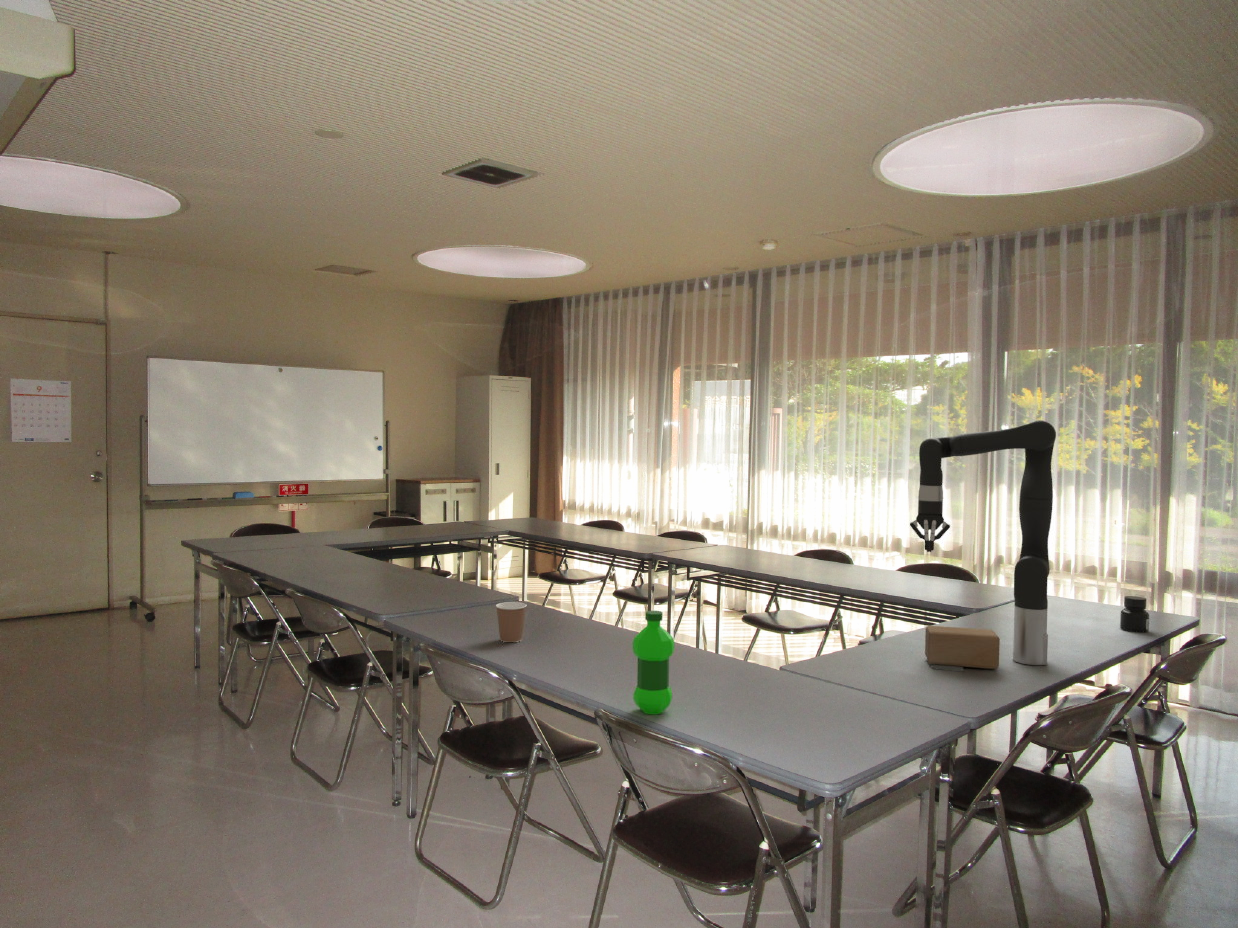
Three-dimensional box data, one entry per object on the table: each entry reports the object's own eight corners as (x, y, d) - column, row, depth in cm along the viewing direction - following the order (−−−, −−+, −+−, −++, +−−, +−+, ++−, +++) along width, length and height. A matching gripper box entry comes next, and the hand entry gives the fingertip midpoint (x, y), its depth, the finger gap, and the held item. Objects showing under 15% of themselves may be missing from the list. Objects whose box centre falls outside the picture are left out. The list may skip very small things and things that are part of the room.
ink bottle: (1154, 633, 296) (1156, 600, 295) (1130, 633, 296) (1131, 600, 295) (1138, 627, 305) (1139, 595, 305) (1114, 626, 305) (1115, 594, 305)
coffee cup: (529, 637, 280) (529, 602, 279) (522, 644, 269) (523, 608, 269) (499, 636, 281) (499, 601, 280) (492, 643, 270) (492, 607, 270)
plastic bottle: (676, 717, 203) (677, 616, 202) (633, 717, 202) (635, 616, 201) (670, 703, 212) (671, 608, 212) (630, 704, 212) (631, 608, 211)
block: (928, 664, 250) (999, 670, 245) (929, 631, 249) (1000, 636, 244) (924, 656, 259) (993, 661, 254) (925, 624, 259) (993, 629, 254)
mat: (961, 660, 257) (961, 658, 257) (963, 671, 245) (963, 669, 245) (930, 657, 260) (930, 655, 260) (931, 668, 248) (931, 666, 248)
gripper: (951, 499, 271) (950, 551, 271) (909, 497, 275) (907, 549, 276) (952, 500, 264) (951, 554, 264) (909, 499, 268) (907, 552, 269)
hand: (928, 551), depth 270 cm, fingers closed
